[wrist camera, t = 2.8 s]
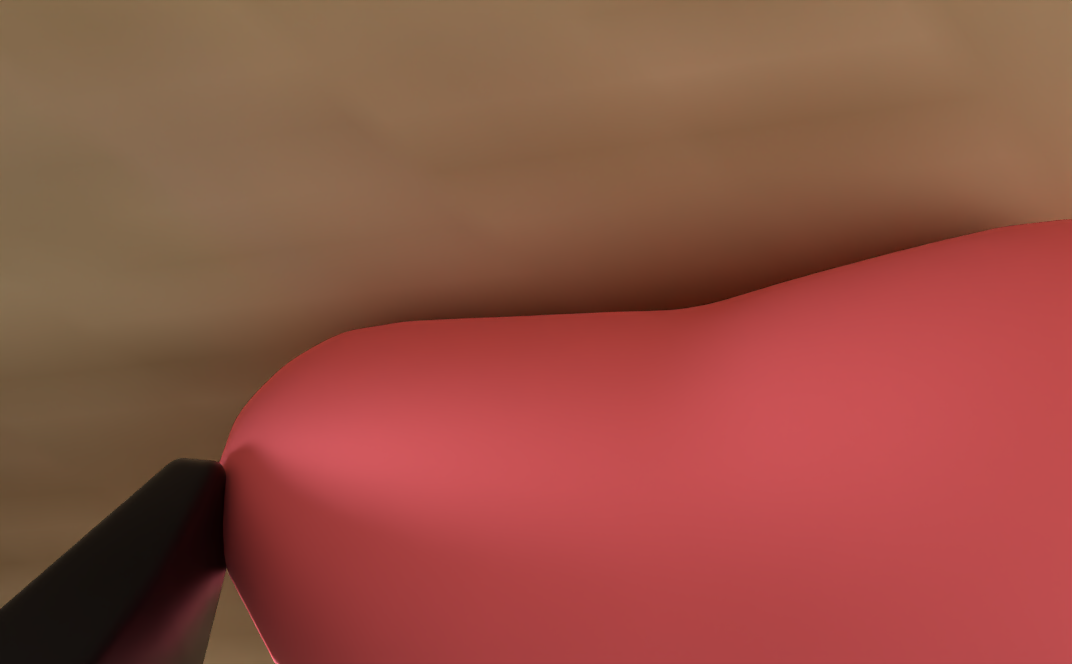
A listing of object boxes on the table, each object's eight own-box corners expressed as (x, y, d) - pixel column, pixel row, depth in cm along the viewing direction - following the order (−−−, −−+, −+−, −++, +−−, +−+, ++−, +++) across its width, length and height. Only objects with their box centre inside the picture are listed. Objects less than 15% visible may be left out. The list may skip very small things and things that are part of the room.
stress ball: (921, 505, 14) (1420, 832, 8) (291, 700, 12) (335, 1336, 6) (913, 144, 12) (1532, 219, 6) (178, 296, 10) (86, 619, 4)
